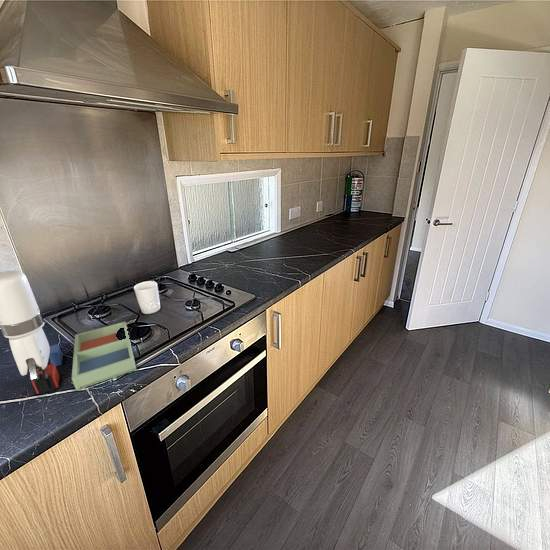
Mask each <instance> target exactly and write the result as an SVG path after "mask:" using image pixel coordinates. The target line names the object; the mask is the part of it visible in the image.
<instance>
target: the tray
mask: <svg viewBox="0 0 550 550" xmlns="http://www.w3.org/2000/svg"><path fill="white" fill-rule="evenodd" d="M122 327H124V331H125V336H126V338H125V339H122V340H118V339H117V338H116V334H117V333H116V332H117V331H118V330H119V329H120V328H122ZM127 329H128V326H127V322H126V321H122V322H118V323H114V324H110V325H107V326H103V327H99V328H95V329H92V330H88V331H84V332H80V333H76V334H75V335H74V345H73V354H72V355H73V357H72V370H71V381H72V384H73V386H74V388H75V391H79V390H82V389H85V388H88V387H91V386H93V385H97V384H98V383H99V384H100V383H102V382H105V381H107V380H111V379H113V378H117V377H119V376H123V375H126V374H128V373H131V372H134V371H137V364H136V361H135V356H134V351H133V347H132V343H131V338H130V334H129V335H128V333H129V330H128V331H127ZM129 338H130V339H129Z"/></svg>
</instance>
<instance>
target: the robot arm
mask: <svg viewBox="0 0 550 550" xmlns="http://www.w3.org/2000/svg"><path fill="white" fill-rule="evenodd" d="M45 324H46V323H45V319H44V318H43V315H42V312H41V311H40V308H39V304H38V302H37V300H36V298H35V294H34V292H33V290H32V287H31V284H30V282H29V280H28V277H27V276H26V273H24V272H23V271H20V270H6V271H5V270H4V271H1V272H0V330H1V333H2V335H3V337H4V338H7V339H8V342H9V346H10V350H11V353H12V356H13V359H14V361H15V363H16V367H17V369H18V371H19V374H20V375H21V376H23V377H25V376H27V375H28V373H29V376H30V377H29V378H30V381H33V382H34V383H35V386H36V388H37V390H38V392H39V395H42V394H45V393H47V392H51V391H55V389H56V388H55V386H54V384H53V381H52V379H51V376H48V373H47V370H46V367H47V366H48V365H51V359H50V357H49V354H50V347H49V346H50V344H49V340H48V338H47V336H46V334H45V331H44V329H43V327H44V326H45ZM38 371H43V374H42V373H41V374H39V373H38Z"/></svg>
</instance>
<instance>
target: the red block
mask: <svg viewBox="0 0 550 550" xmlns="http://www.w3.org/2000/svg"><path fill="white" fill-rule="evenodd" d="M46 370H47V373H48V376H51V379H52V381H53V384H54V386H55V389H57V388H59V385H60V378H61V377H60V373H59V371H58V369H57V366H55V364H51V365H48V366H47V367H46ZM38 373H39V374H41V373H42V374H43V371H38ZM30 381H31V380H30ZM31 384H32V386H33V388H34V391H35V392H36V394H37V395H38V394H39V392H38V390H37V388H36V386H35V383H34V382H33V381H31ZM39 395H40V394H39Z"/></svg>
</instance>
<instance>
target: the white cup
mask: <svg viewBox="0 0 550 550" xmlns="http://www.w3.org/2000/svg"><path fill="white" fill-rule="evenodd" d="M133 290H134V294H135V297H136V300H137V303H138V306H139V309H140V311H141V313H142V314H144V315H150V314H154V313H156V312H158V311H160V309H161V301H160V292H159V286H158V283H157V281H154V280H147V281H142V282H139V283H137V284H135V285H134V286H133Z"/></svg>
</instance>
